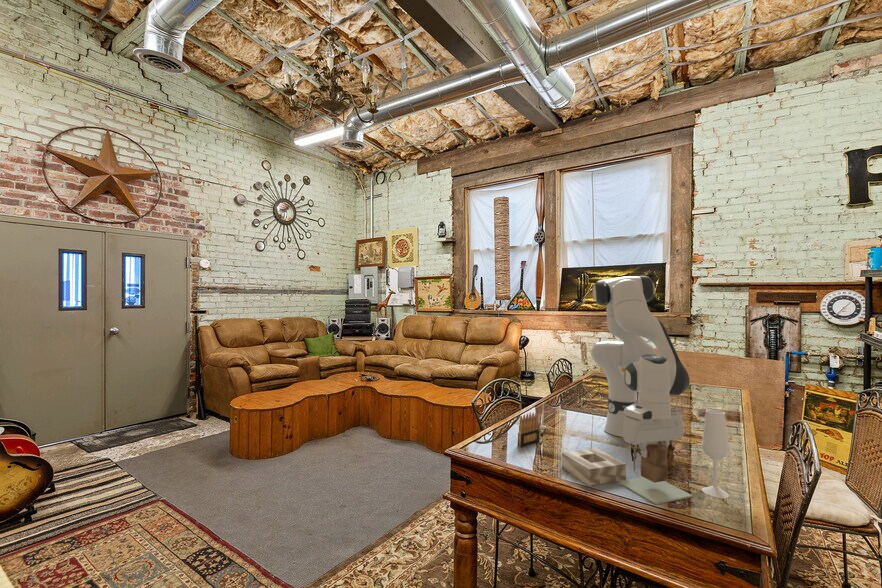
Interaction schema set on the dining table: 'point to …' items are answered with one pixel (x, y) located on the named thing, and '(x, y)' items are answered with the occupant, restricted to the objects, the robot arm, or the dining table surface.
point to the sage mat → (655, 490)
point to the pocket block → (593, 466)
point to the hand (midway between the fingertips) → (653, 455)
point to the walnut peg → (655, 463)
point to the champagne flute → (715, 447)
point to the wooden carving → (669, 453)
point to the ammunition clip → (528, 430)
